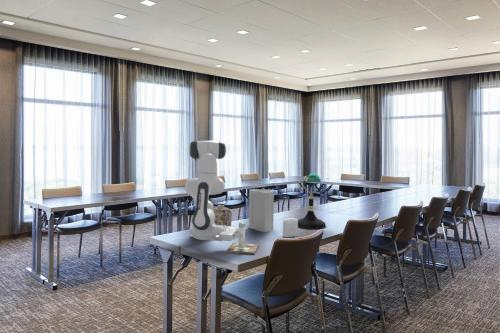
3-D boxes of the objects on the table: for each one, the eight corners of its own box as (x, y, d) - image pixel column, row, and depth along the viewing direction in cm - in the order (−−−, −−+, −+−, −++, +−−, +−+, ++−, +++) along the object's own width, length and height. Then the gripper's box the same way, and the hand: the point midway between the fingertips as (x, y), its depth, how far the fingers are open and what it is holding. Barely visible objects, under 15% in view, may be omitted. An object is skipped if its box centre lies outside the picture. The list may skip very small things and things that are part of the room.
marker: (239, 246, 222) (239, 222, 221) (245, 246, 221) (245, 222, 220) (237, 248, 218) (238, 223, 217) (244, 248, 218) (244, 223, 217)
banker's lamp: (326, 230, 278) (327, 175, 276) (293, 228, 282) (295, 174, 280) (325, 223, 304) (326, 172, 302) (296, 221, 308) (297, 171, 306)
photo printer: (295, 235, 263) (295, 217, 262) (298, 236, 259) (298, 218, 258) (281, 236, 259) (282, 218, 258) (284, 237, 255) (285, 219, 254)
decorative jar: (231, 231, 271) (232, 205, 271) (218, 232, 264) (219, 206, 263) (221, 228, 280) (222, 203, 280) (207, 229, 272) (209, 204, 272)
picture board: (232, 244, 234) (232, 242, 234) (258, 246, 232) (258, 244, 232) (226, 253, 217) (226, 250, 217) (254, 254, 214) (254, 252, 214)
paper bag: (280, 229, 278) (281, 191, 277) (264, 232, 270) (265, 192, 268) (264, 225, 294) (264, 188, 292) (248, 227, 285) (248, 189, 283)
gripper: (215, 231, 211) (240, 233, 209) (223, 224, 231) (246, 225, 229) (214, 243, 211) (239, 244, 209) (223, 234, 231) (246, 235, 229)
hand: (243, 234), depth 219 cm, fingers closed on marker, 3 cm apart
